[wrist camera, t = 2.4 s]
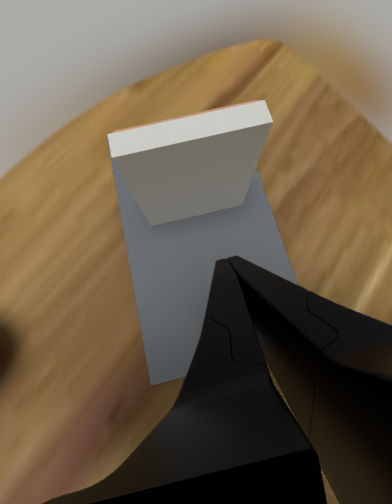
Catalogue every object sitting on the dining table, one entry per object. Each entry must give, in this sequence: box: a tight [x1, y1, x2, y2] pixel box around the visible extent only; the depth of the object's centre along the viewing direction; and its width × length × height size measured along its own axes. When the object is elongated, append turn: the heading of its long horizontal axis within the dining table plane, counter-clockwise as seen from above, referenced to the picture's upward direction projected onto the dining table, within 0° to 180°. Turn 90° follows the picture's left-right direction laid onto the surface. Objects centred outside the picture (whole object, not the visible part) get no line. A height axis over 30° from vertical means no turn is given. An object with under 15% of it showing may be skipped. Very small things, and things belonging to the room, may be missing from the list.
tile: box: [107, 100, 273, 226], centre depth 14 cm, size 2×7×8 cm, turn 104°
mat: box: [107, 138, 298, 386], centre depth 18 cm, size 19×11×1 cm, turn 14°
